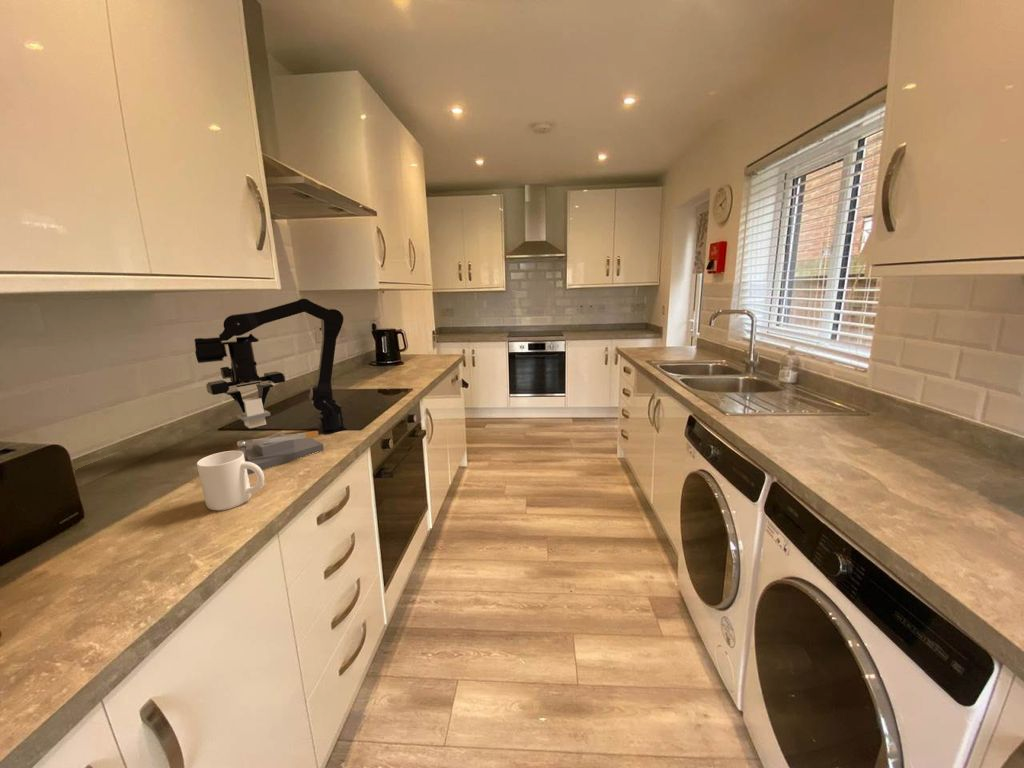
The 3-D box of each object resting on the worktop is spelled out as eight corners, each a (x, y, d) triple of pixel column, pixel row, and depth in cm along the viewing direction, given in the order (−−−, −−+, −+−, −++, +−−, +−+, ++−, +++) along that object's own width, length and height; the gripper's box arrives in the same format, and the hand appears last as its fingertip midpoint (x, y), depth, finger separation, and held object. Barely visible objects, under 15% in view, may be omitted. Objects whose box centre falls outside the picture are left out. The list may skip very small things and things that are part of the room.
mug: (276, 489, 94) (268, 448, 92) (258, 508, 86) (249, 463, 84) (220, 494, 93) (211, 452, 91) (197, 513, 85) (187, 467, 83)
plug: (264, 419, 126) (259, 394, 124) (272, 424, 122) (267, 398, 120) (239, 425, 121) (233, 400, 120) (246, 430, 117) (241, 403, 115)
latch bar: (318, 434, 112) (317, 430, 112) (317, 436, 110) (317, 432, 110) (238, 445, 106) (238, 440, 106) (236, 448, 104) (235, 443, 104)
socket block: (302, 439, 126) (299, 421, 125) (323, 450, 116) (321, 431, 115) (226, 460, 112) (222, 440, 110) (244, 475, 102) (240, 454, 101)
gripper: (268, 351, 129) (276, 399, 133) (196, 361, 115) (207, 413, 119) (281, 354, 122) (290, 404, 125) (206, 365, 108) (218, 420, 112)
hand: (252, 410), depth 121 cm, fingers closed on plug, 4 cm apart
